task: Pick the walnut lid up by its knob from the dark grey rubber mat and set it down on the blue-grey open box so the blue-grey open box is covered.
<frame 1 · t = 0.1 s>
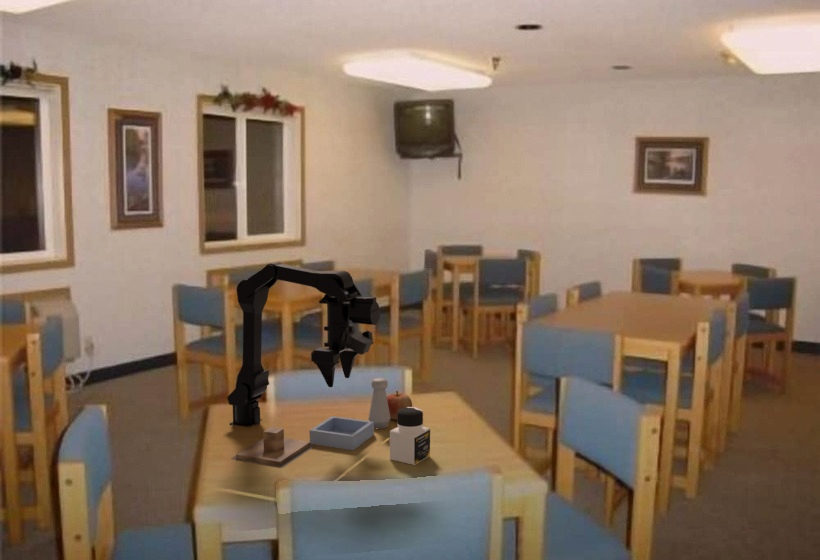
hand: (339, 382, 194), 15 cm above the table, tool pointing down, fingers open, 9 cm apart
lid: (274, 452, 184), point 1 cm above the table, touching mat
mat: (274, 454, 184), on the table
salt shaker: (379, 427, 205), on the table
medicine bottle: (409, 458, 183), on the table
apple: (398, 419, 212), on the table
blue-grey open box: (342, 441, 194), on the table
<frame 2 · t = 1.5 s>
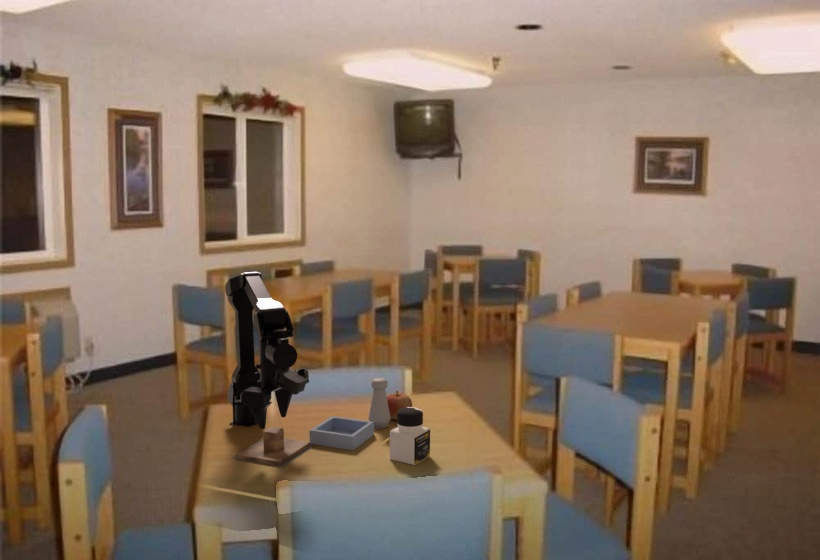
hand: (273, 422, 183), 8 cm above the table, tool pointing down, fingers open, 9 cm apart
nothing on the table moved.
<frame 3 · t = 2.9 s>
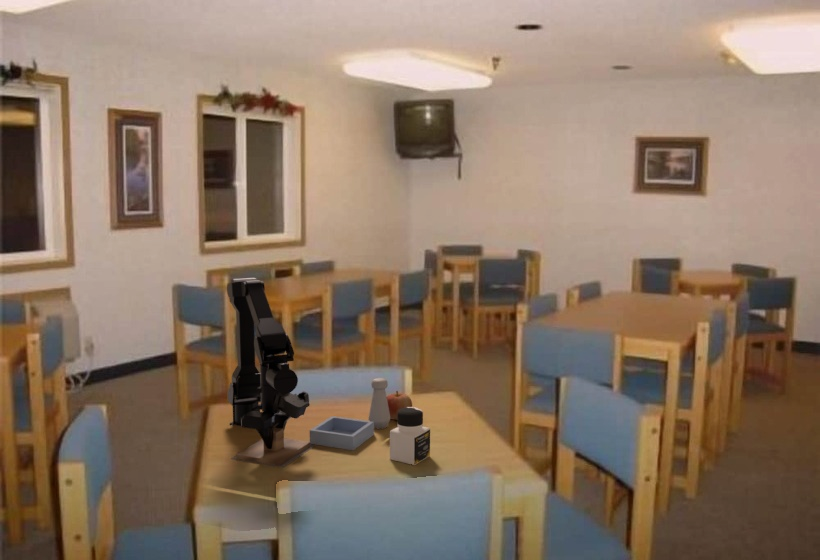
hand: (273, 445, 184), 2 cm above the table, tool pointing down, fingers closed on lid, 3 cm apart
lid: (274, 452, 184), point 1 cm above the table, touching gripper, mat
everything else where it was.
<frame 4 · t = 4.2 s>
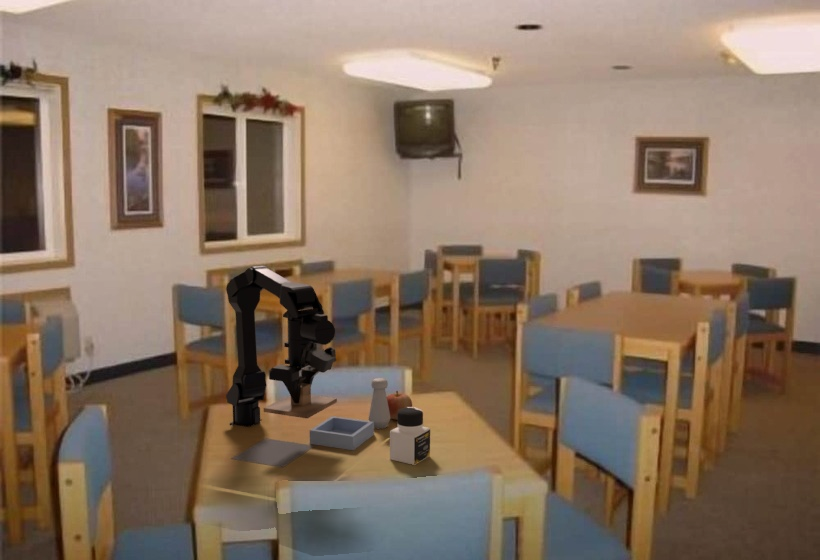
hand: (300, 400, 186), 12 cm above the table, tool pointing down, fingers closed on lid, 3 cm apart
lid: (301, 407, 186), point 11 cm above the table, touching gripper
everything else where it was.
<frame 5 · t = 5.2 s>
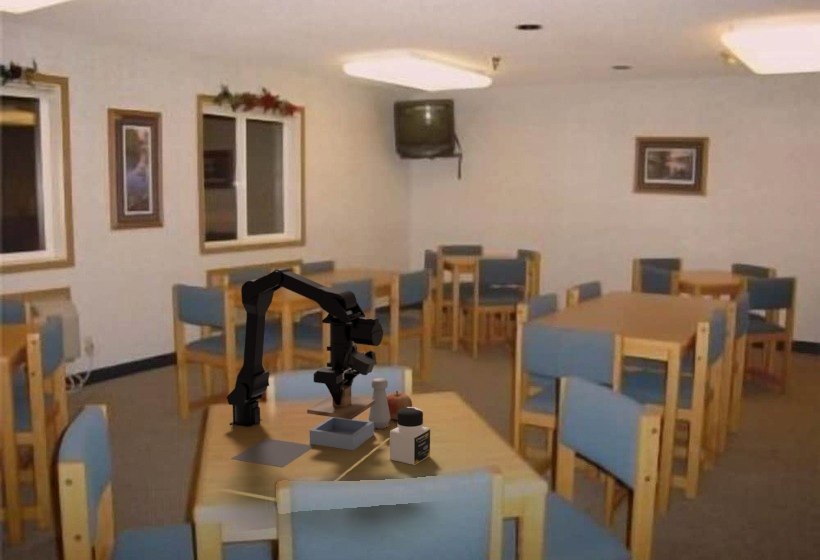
hand: (341, 402, 192), 10 cm above the table, tool pointing down, fingers closed on lid, 3 cm apart
lid: (342, 408, 192), point 9 cm above the table, touching gripper
everything else where it was.
when the fingers open (7 cm above the table, at t = 5.9 s): lid drops 2 cm, resting on blue-grey open box.
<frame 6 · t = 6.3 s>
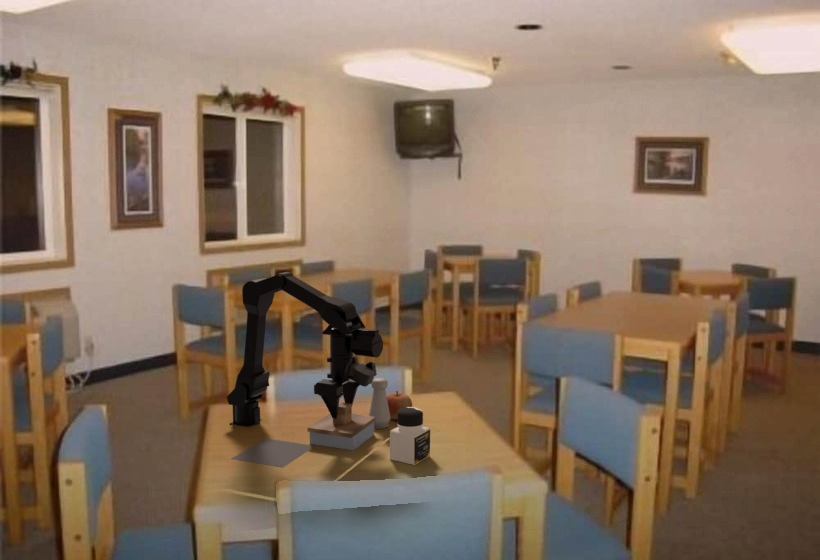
hand: (342, 413, 193), 7 cm above the table, tool pointing down, fingers open, 8 cm apart
lid: (342, 425, 193), point 4 cm above the table, touching blue-grey open box
everything else where it was.
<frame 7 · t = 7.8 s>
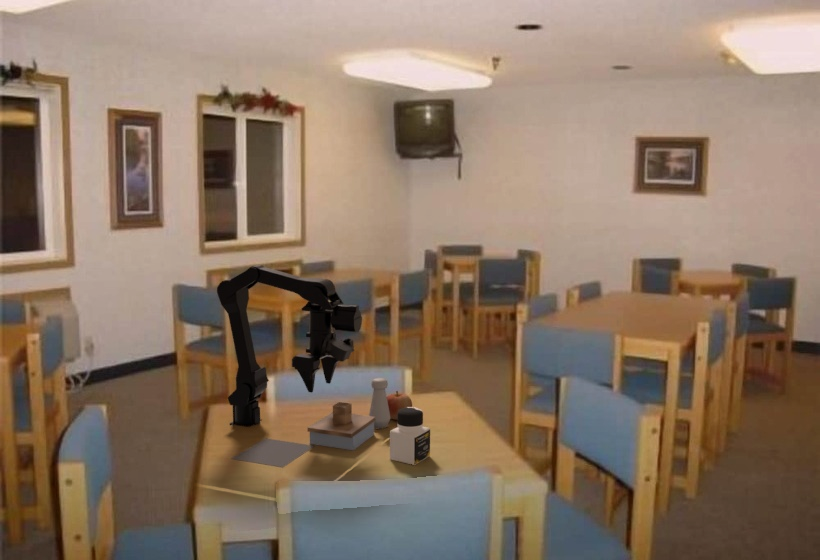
hand: (319, 387, 199), 12 cm above the table, tool pointing down, fingers open, 9 cm apart
nothing on the table moved.
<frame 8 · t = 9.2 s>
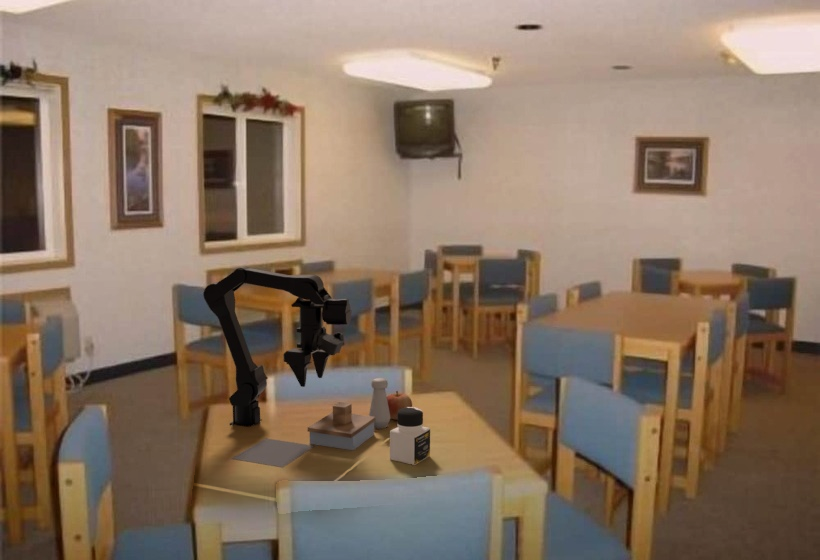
hand: (311, 382, 202), 13 cm above the table, tool pointing down, fingers open, 9 cm apart
nothing on the table moved.
at the end: lid 0.0 cm off-centre on the blue-grey open box, point 4.0 cm above the blue-grey open box's base; lid tilted 0°; the gripper is holding nothing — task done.
